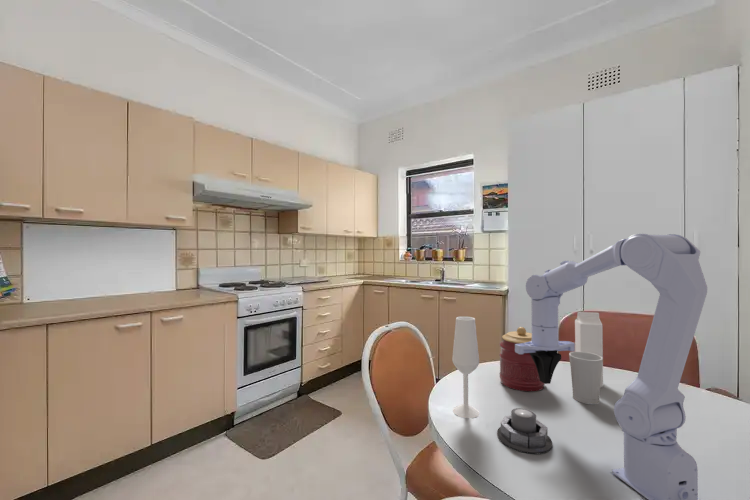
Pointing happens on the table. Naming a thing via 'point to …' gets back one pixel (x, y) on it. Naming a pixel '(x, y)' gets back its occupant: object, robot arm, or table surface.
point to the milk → (589, 335)
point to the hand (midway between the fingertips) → (545, 382)
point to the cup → (586, 376)
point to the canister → (518, 363)
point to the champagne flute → (465, 359)
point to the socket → (525, 438)
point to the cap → (523, 420)
